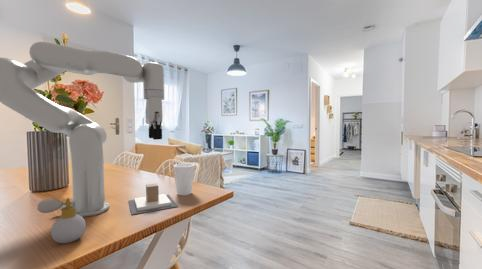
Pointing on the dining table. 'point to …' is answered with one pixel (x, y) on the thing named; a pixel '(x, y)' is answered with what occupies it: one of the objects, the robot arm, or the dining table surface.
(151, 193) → the lid
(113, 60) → the robot arm
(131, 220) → the dining table surface
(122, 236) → the dining table surface
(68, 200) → the perfume bottle
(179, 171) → the foam cup
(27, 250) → the dining table surface
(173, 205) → the mat
